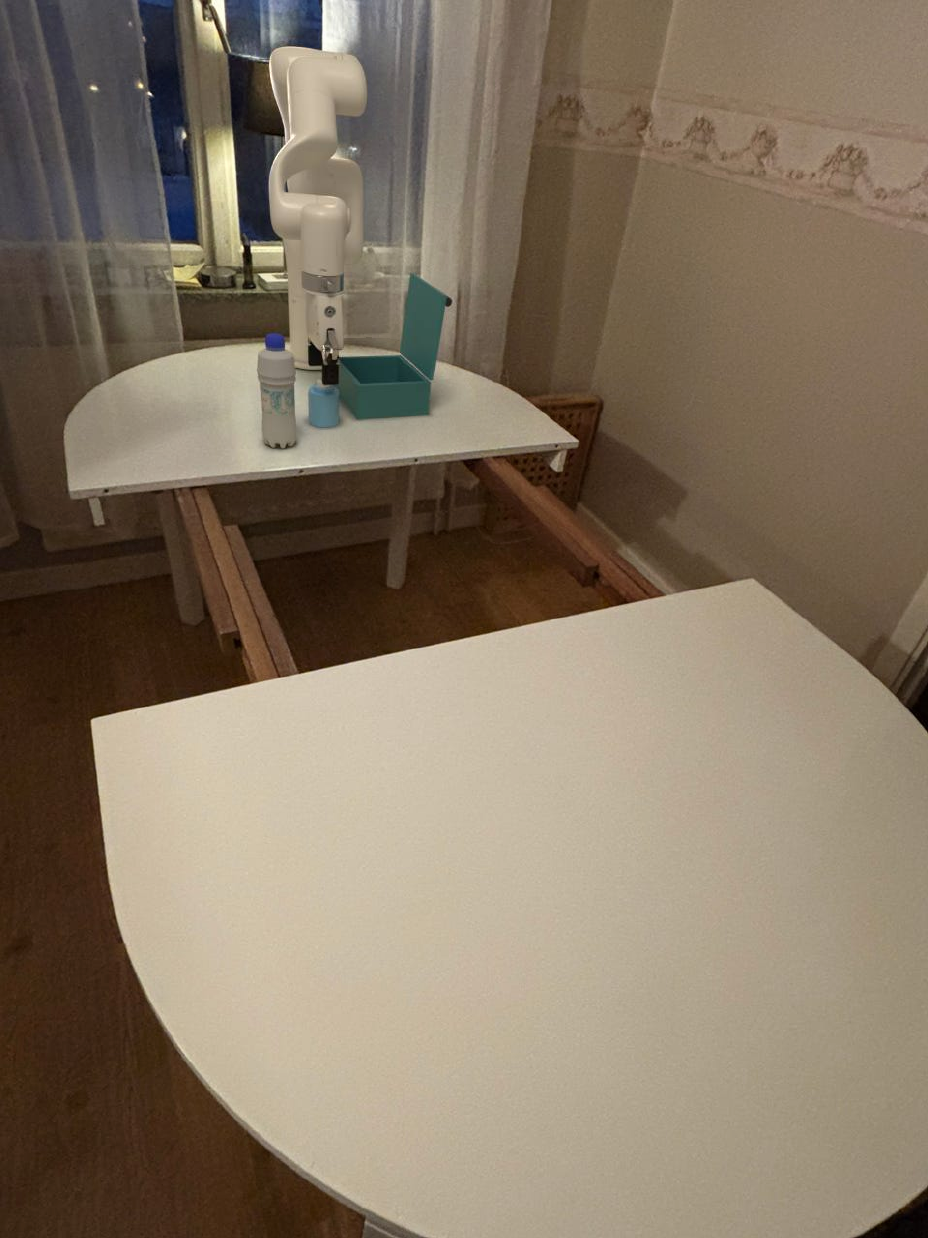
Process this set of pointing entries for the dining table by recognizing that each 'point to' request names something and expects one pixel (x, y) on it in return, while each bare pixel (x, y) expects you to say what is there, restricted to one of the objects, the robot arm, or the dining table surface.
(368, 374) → the teal hollow box
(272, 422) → the bottle
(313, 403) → the water bottle
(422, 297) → the lid
